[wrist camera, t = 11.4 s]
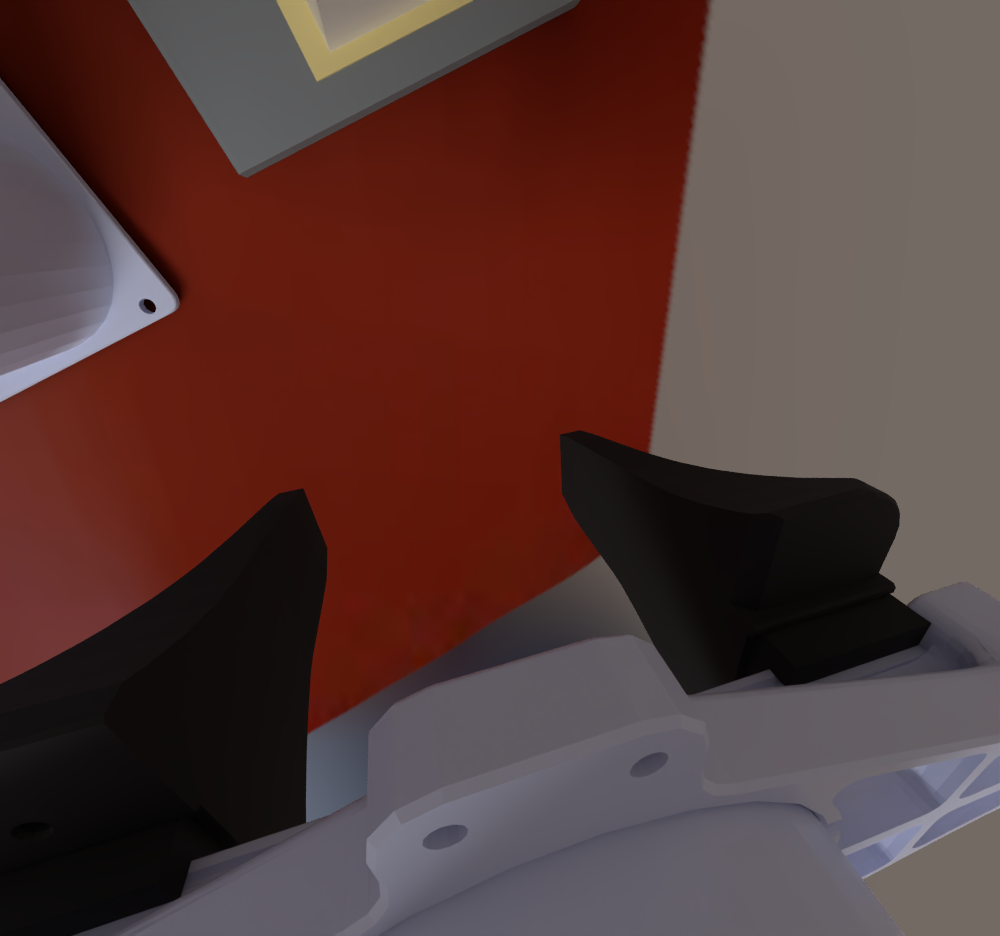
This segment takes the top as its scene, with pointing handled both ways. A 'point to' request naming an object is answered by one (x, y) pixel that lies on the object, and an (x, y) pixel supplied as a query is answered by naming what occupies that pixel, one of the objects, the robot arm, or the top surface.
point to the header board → (316, 63)
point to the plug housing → (355, 17)
